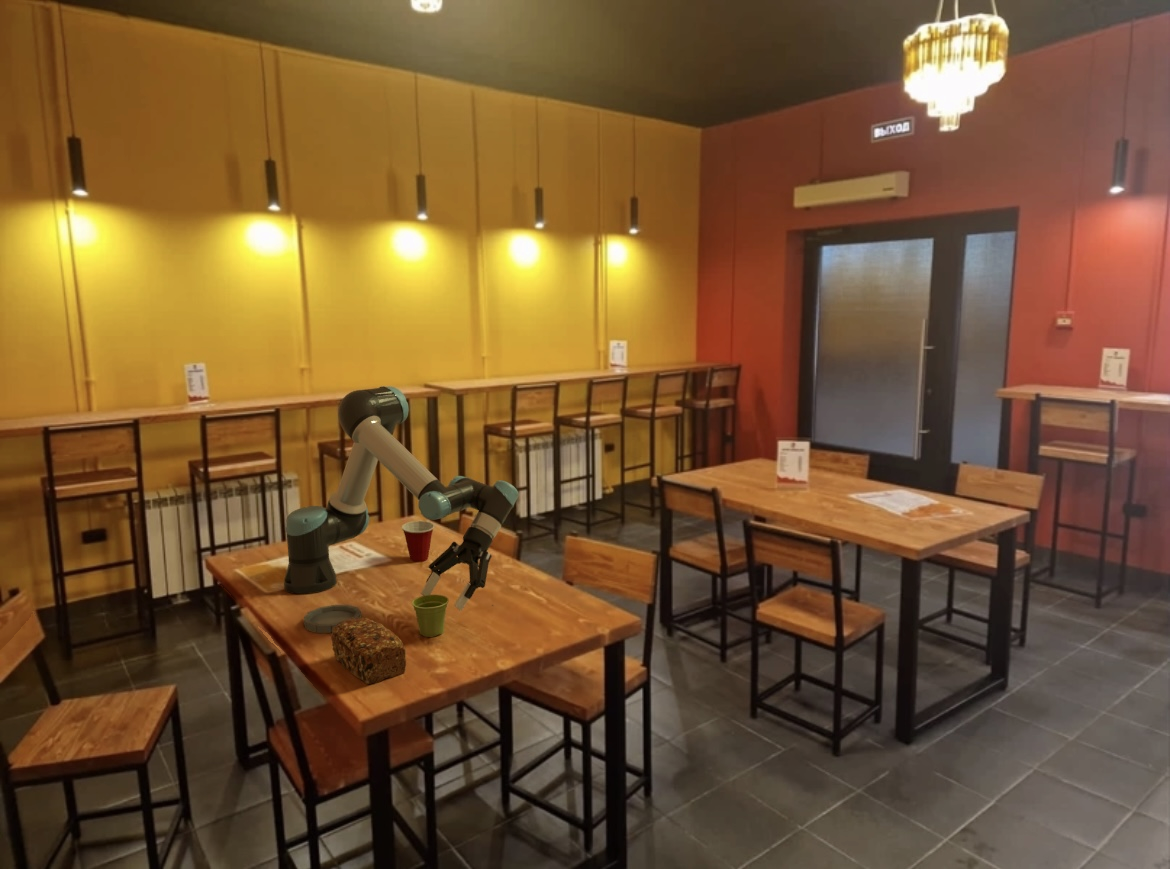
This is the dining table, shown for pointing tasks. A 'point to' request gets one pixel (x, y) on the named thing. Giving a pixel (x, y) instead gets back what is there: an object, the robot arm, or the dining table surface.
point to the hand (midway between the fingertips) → (440, 602)
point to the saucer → (329, 617)
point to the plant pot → (430, 614)
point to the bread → (368, 649)
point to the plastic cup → (418, 539)
